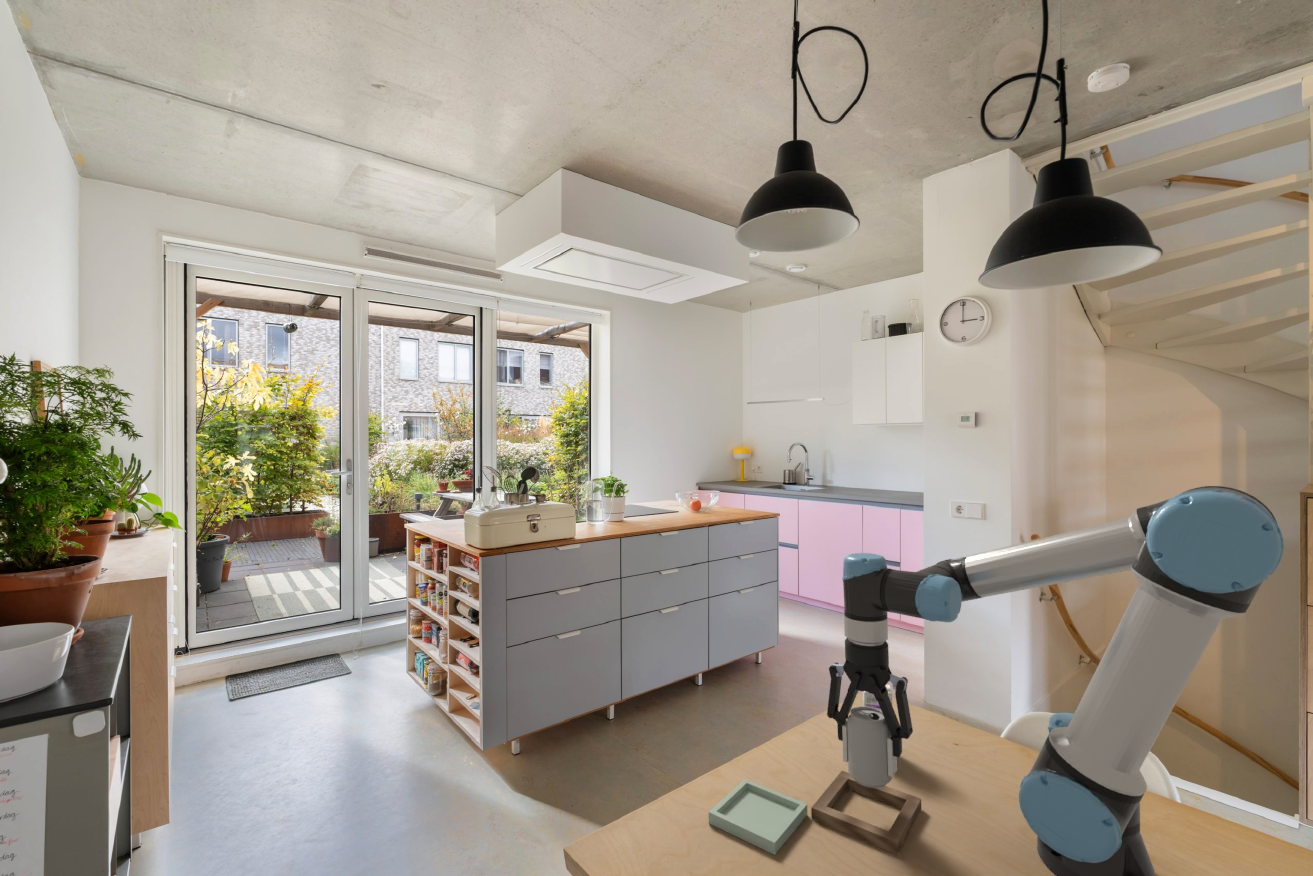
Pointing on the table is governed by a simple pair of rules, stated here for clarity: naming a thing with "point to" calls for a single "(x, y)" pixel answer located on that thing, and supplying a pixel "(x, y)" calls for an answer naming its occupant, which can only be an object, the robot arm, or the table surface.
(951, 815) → the table surface
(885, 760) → the can
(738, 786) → the tray
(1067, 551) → the robot arm
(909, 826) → the holder
